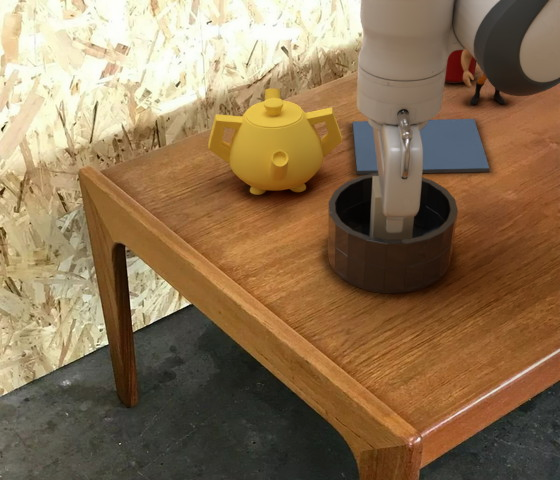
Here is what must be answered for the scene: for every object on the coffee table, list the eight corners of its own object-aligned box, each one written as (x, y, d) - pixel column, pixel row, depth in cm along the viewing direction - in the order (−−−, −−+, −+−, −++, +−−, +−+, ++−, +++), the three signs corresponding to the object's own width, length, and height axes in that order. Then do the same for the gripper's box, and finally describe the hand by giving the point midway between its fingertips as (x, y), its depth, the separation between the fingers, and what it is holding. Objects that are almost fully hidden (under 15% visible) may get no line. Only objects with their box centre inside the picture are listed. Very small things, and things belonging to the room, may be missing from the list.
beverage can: (482, 75, 129) (494, -2, 121) (458, 89, 126) (468, 11, 117) (448, 63, 133) (456, -12, 124) (423, 77, 129) (431, 1, 121)
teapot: (350, 215, 102) (352, 135, 94) (211, 223, 102) (202, 144, 94) (333, 138, 116) (334, 63, 108) (212, 145, 116) (204, 71, 108)
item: (406, 240, 97) (412, 175, 91) (409, 262, 94) (416, 196, 87) (369, 240, 97) (372, 175, 91) (371, 263, 94) (375, 197, 88)
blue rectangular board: (473, 122, 118) (474, 118, 118) (489, 172, 108) (489, 168, 108) (352, 125, 119) (352, 121, 119) (356, 174, 109) (357, 170, 109)
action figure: (457, 107, 122) (470, 6, 111) (454, 96, 124) (467, -4, 114) (519, 106, 121) (539, 5, 110) (516, 95, 124) (534, -5, 113)
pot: (442, 219, 101) (448, 171, 96) (457, 292, 90) (465, 242, 85) (327, 221, 101) (327, 173, 96) (329, 294, 91) (330, 244, 86)
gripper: (443, 140, 74) (427, 260, 83) (420, 48, 88) (409, 159, 98) (375, 140, 74) (367, 260, 84) (364, 49, 88) (358, 160, 98)
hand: (390, 205), depth 91 cm, fingers open, 8 cm apart
